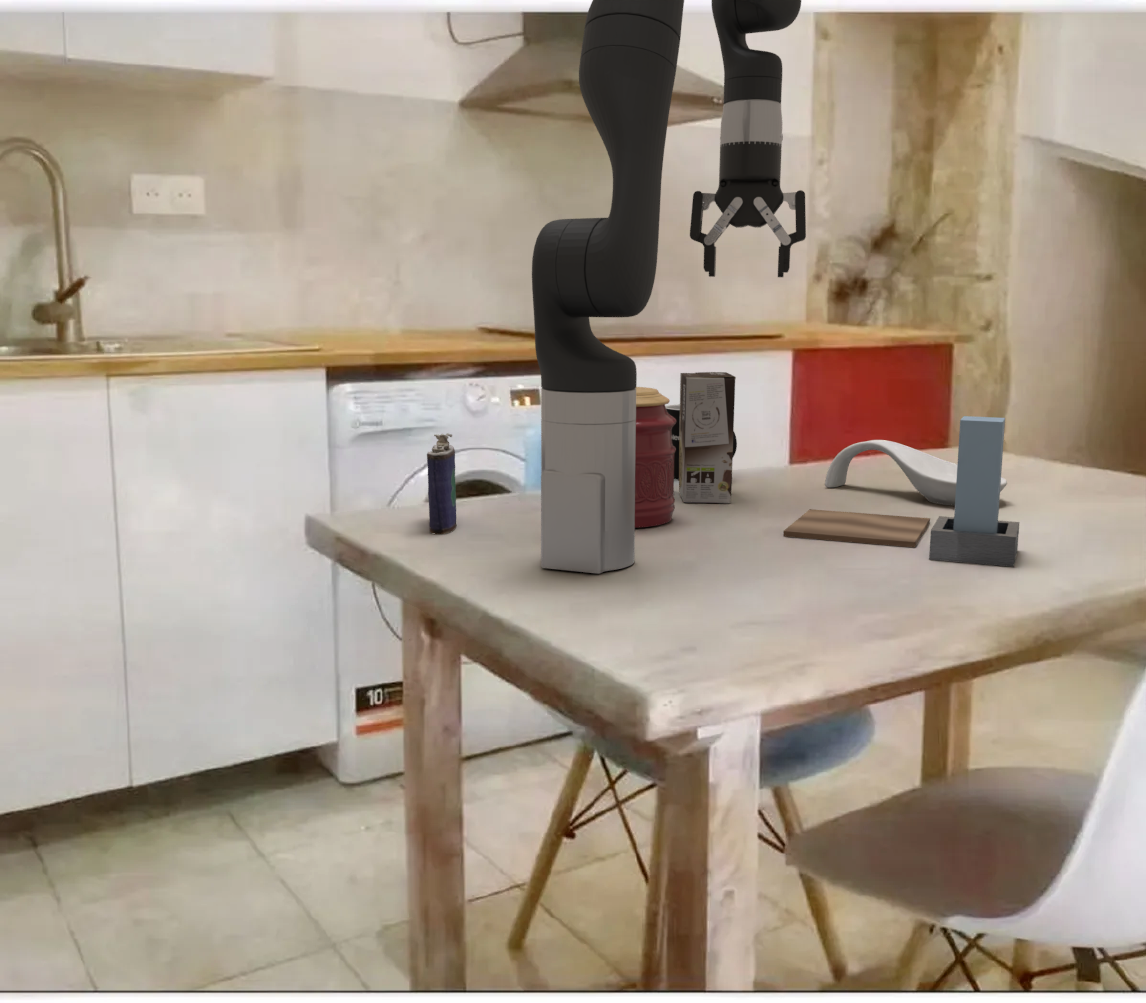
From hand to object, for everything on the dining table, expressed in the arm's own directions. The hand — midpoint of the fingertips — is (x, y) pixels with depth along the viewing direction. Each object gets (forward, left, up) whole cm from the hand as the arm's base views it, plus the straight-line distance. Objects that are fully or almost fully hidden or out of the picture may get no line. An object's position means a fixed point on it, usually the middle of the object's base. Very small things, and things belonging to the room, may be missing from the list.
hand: (746, 276), depth 145 cm
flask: (-31, +26, -29) cm, 50 cm away
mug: (+14, +9, -29) cm, 33 cm away
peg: (-22, -31, -28) cm, 47 cm away
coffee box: (-1, +4, -29) cm, 29 cm away
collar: (-22, -31, -28) cm, 47 cm away
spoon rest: (+11, -20, -29) cm, 37 cm away
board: (-14, -18, -28) cm, 36 cm away
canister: (-19, +9, -29) cm, 36 cm away
